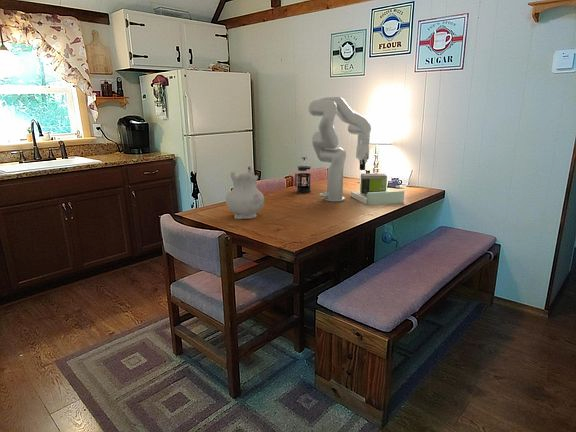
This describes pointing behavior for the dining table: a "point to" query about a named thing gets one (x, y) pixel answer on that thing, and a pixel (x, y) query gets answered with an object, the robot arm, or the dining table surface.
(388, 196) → the bay
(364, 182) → the tea box
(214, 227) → the dining table surface
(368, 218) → the dining table surface
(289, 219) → the dining table surface
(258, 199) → the ceramic pitcher
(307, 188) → the french press
